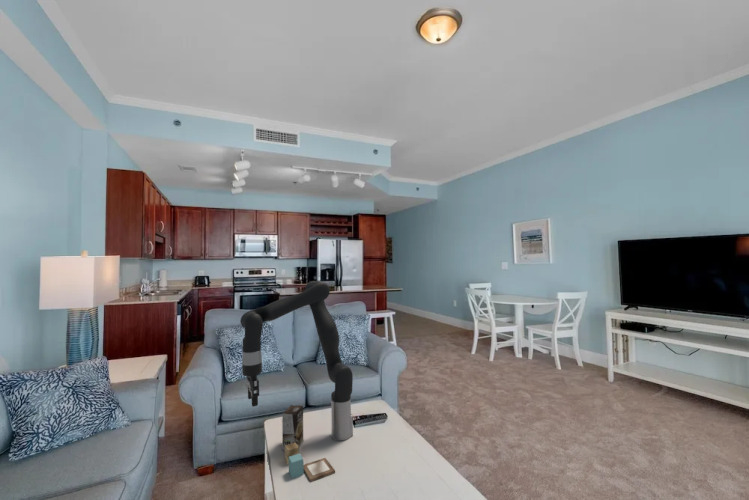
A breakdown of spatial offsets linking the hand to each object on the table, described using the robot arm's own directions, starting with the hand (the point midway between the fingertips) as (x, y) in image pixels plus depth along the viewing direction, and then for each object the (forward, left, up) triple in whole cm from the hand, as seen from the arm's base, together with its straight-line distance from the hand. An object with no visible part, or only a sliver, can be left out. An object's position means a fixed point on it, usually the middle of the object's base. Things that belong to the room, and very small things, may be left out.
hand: (252, 402), depth 135 cm
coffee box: (-19, -7, -26) cm, 33 cm away
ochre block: (-15, +4, -26) cm, 30 cm away
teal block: (-14, +13, -26) cm, 32 cm away
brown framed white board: (-22, +16, -26) cm, 37 cm away
